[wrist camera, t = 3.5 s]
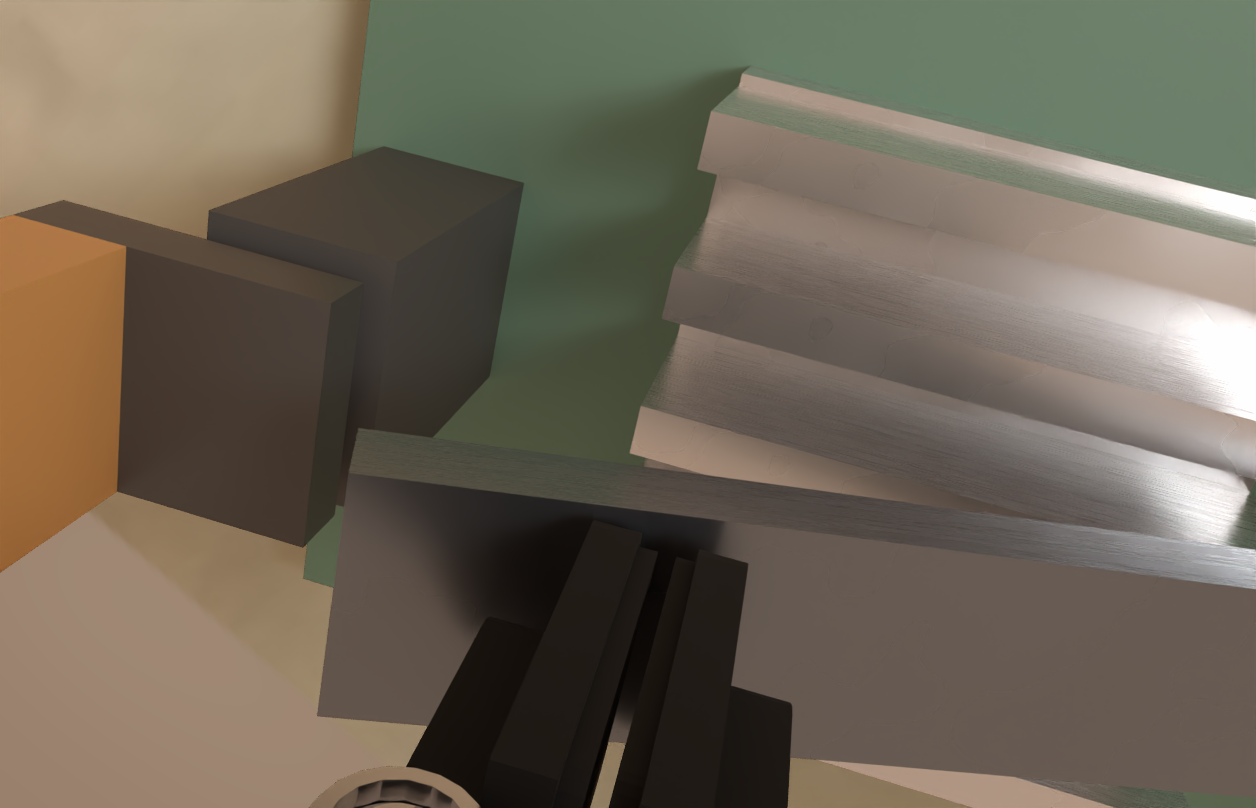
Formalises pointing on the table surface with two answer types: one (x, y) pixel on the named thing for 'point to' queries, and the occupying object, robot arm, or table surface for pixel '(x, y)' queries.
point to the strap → (820, 613)
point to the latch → (166, 377)
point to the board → (663, 177)
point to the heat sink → (963, 336)
